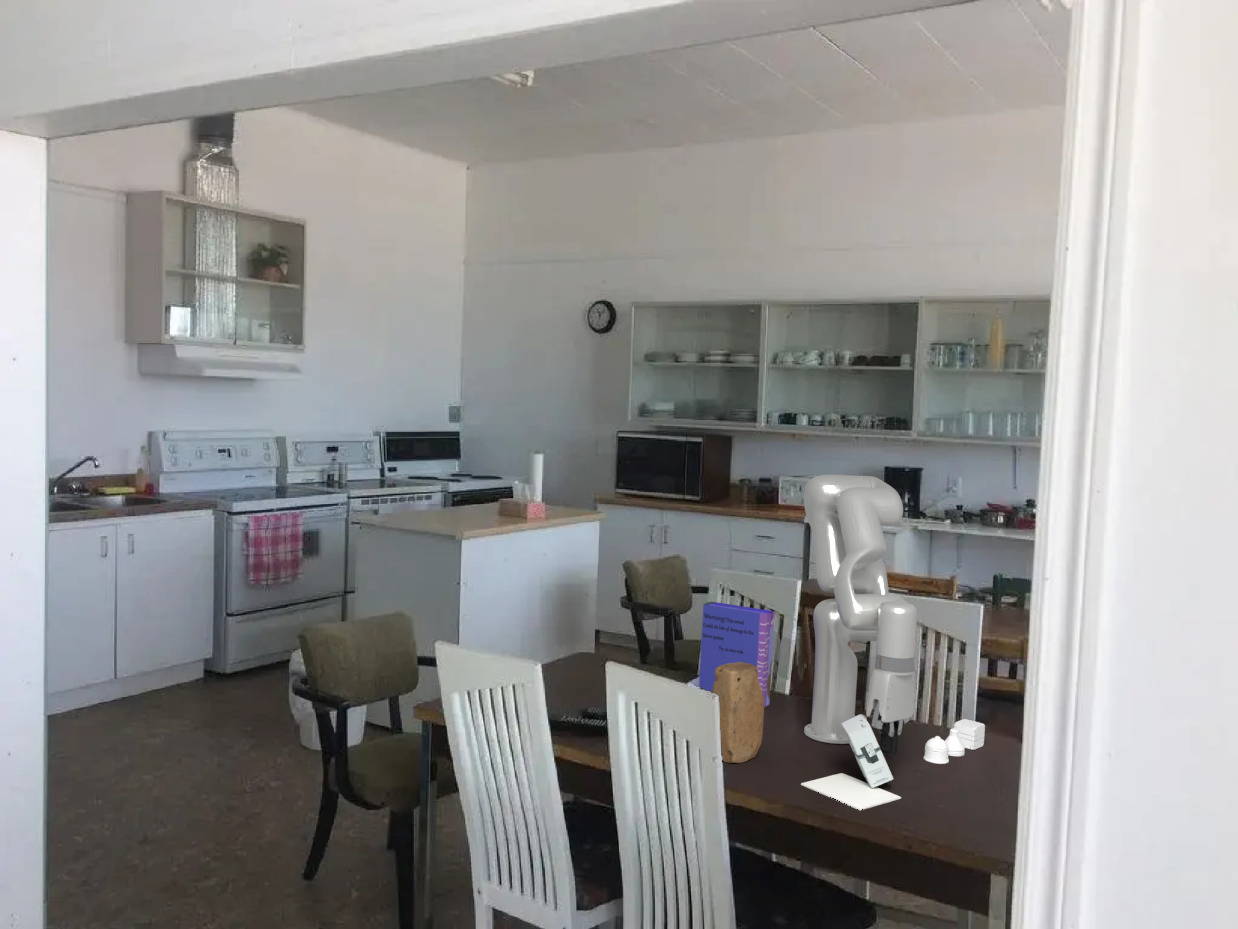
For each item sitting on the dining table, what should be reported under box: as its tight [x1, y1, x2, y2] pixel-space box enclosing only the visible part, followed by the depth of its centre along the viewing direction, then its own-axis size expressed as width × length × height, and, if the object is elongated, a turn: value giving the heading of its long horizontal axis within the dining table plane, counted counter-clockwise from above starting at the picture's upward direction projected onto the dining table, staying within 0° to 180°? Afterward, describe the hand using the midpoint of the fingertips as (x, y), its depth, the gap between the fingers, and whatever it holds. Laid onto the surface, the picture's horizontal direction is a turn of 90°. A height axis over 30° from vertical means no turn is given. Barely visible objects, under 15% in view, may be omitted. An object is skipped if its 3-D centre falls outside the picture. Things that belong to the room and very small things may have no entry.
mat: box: [800, 772, 902, 811], centre depth 206 cm, size 12×15×1 cm
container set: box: [923, 718, 986, 765], centre depth 233 cm, size 20×5×6 cm, turn 135°
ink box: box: [841, 714, 894, 788], centre depth 211 cm, size 9×5×12 cm, turn 178°
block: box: [712, 662, 765, 764], centre depth 222 cm, size 11×8×20 cm
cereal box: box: [698, 601, 775, 709], centre depth 265 cm, size 17×5×24 cm, turn 59°
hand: (889, 753), depth 211 cm, fingers closed
